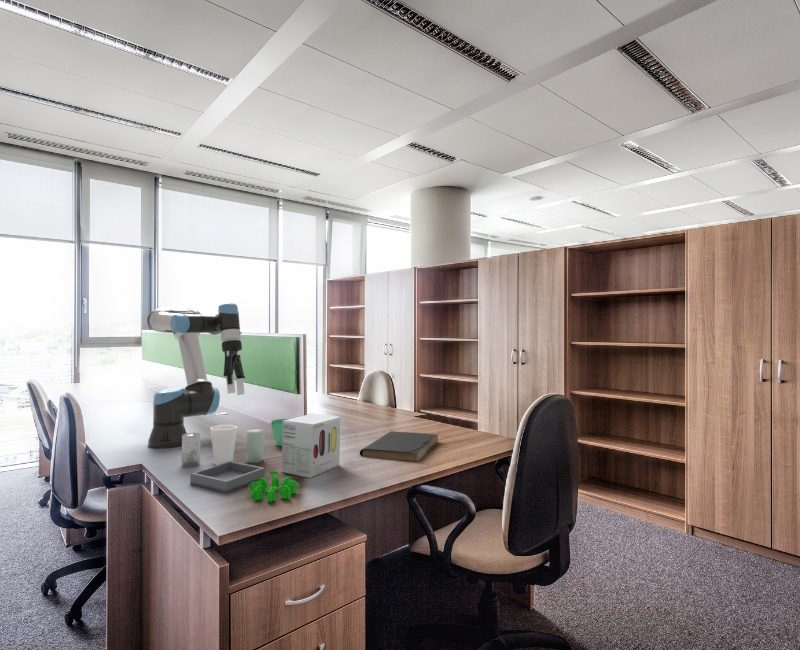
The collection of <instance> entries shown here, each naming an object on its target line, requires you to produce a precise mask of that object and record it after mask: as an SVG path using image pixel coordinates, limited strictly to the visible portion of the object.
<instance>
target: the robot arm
mask: <svg viewBox="0 0 800 650" xmlns="http://www.w3.org/2000/svg"><path fill="white" fill-rule="evenodd" d="M146 322H147V325H148V327H149V328H150V329H151V330H153V331H155V332H158V333H171V334H173V338H174V339H176V340H178V345H179V351H180V355H181V360H182V363H183V364H182V365H183V370H184V376H185V379H186V386H185V387H181V386H179V387H168V388H164V389H160V390H159V391H156V392H155V393H154V395H153V402H152V404H153V410H152V411H153V419H152V420H153V421H152V424H153V425H152V428H151V432H150V435H149V438H148V441H147V446H148V447H149V448H154V449H165V448H174V447H179V446H182V435H183V434H187V433H188V432H187V430H186V428H185V425H184V424H185V422H184V421H185V420H184V419H185V418H190V417H198V416H206V415H213V414H215V413H216V411H218V408H219V406H220V401H221V399H220V398H221V395H220V390H219V389H218V388H217V387H213V384H212V382H211V381H210V380H208V378H207V377H208V375H207V371H206V367H205V362H204V357H203V354H202V349H201V345H200V340H199V336H201V334H210V335H212V336H216V335H217V336H218V335H220V341H221V342H222V343H221V349H222V352H223V353H224V366H223V377H225V378H226V388H227V389H226V391H227V394H228V395H229V394H235V393H236V394H237V396H240V395H245V384H244V379H245V378H246V376H245V374H244V370H243V369H244V367H243V364H242V363H243V362H242V359H241V354H239V353H238V352H240V351H242V350H243V345H242V341H241V339H242V336H241V335H242V334H243V332H242V331H241V326H240V325H241V324H240V313H239V308H238V305H237V304H236V303H232V302H228V303H227V302H226V303H221V304H219V305H218V313H217V314H201V312H200V311H199V310H198V309H193V308H173V307H172V308H170V307H160V308H156V309H154V310H152V311H151V312H149V314H148V315H147V318H146ZM234 374H235V375H234ZM235 378H236V379H235ZM235 384H236V385H235Z"/></svg>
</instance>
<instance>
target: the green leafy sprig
mask: <svg viewBox="0 0 800 650" xmlns="http://www.w3.org/2000/svg"><path fill="white" fill-rule="evenodd" d="M278 474H279V473H278V471H276V470H275V471H270V472H269V475H270V476H272V481H271V486H268V482H267V480H266V478H259V479H258V481H257V482H253V483H251V484H249V485H247V486H248V487H247V493H248V495H249V496H251V498H252V500H253V501H254V502H257V501H259V500H263V499H264V497H265V495H266V492H267V497H266V498H267V501H268V502H269V503H270V504H272V503H273V502H274V501H275V500H276V491H279V494H280V497H281V498H282V499H283V500H286V501H288V500H290V498H291V496H292V494H293V495H296V494H297V493H299V490H300V485H299V483H298V482H297V481H296V480H294V478H293V477H291V476H286V477H284V479H283V480H282V483H281V485H280V479H279V477H278ZM260 479H261V480H260ZM296 484H297V486H296ZM296 487H298V488H296ZM249 488H251V491H249ZM296 489H297V490H296Z"/></svg>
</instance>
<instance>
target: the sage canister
mask: <svg viewBox="0 0 800 650" xmlns="http://www.w3.org/2000/svg"><path fill="white" fill-rule="evenodd" d="M245 445H246V451H245V453H246V455H245V459H246V460H245V462H246V463H251V464H255V463H259V462H263V460H264V430H263V429H249V430H247V431H246V444H245Z"/></svg>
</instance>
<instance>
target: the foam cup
mask: <svg viewBox="0 0 800 650" xmlns="http://www.w3.org/2000/svg"><path fill="white" fill-rule="evenodd" d="M209 432H210V433H209V436H210V439H211V446H212V447H211V449H212V457H213V462H214V463H213V465H214V466H216V465H219V464H222V463H226V462H229V461H233V462H234V453H235V447H236V441H237V440H236V439H237V434H238V426H237V425H234V424H218V425H214V426H210V431H209Z"/></svg>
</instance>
